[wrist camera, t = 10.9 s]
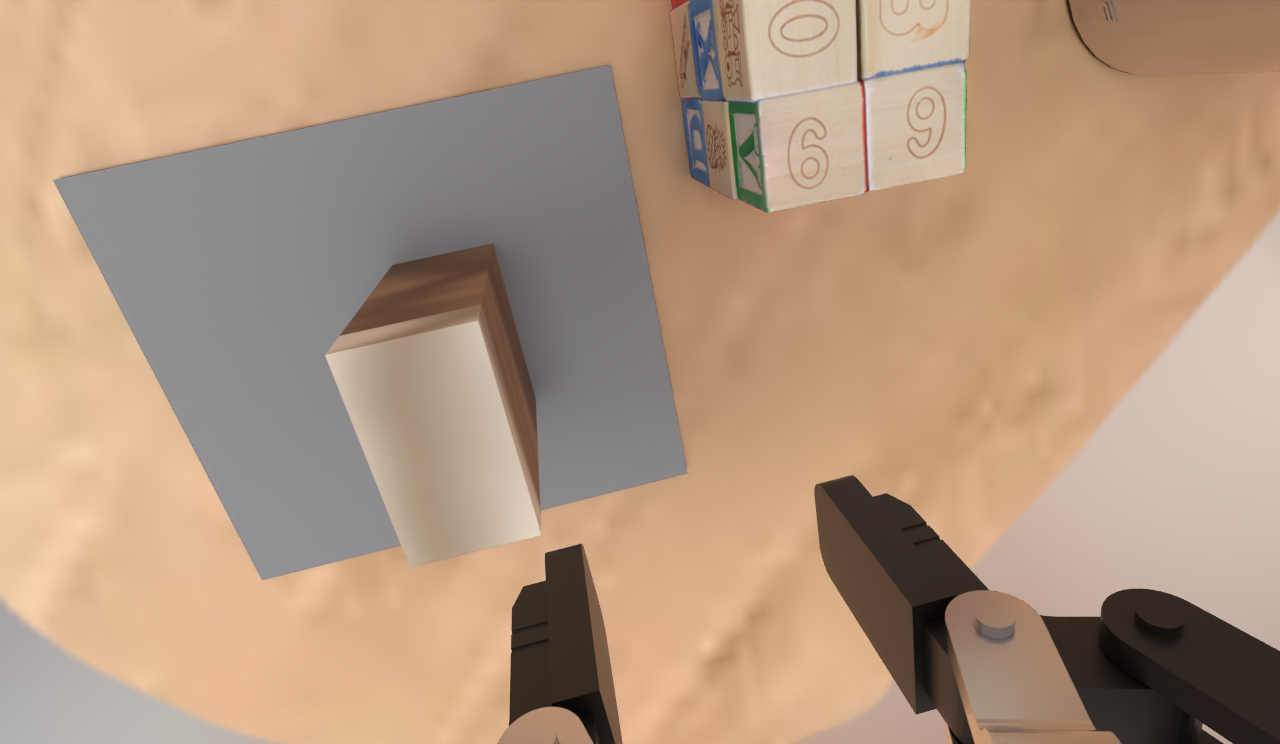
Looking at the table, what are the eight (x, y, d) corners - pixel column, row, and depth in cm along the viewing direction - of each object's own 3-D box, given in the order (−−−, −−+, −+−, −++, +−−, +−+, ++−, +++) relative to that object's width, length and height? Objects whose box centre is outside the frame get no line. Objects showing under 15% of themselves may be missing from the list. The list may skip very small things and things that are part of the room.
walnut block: (493, 242, 27) (477, 320, 18) (535, 399, 30) (541, 535, 21) (392, 265, 27) (324, 354, 18) (444, 420, 30) (410, 568, 21)
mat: (609, 65, 26) (610, 64, 25) (685, 468, 33) (687, 473, 33) (59, 178, 24) (52, 180, 24) (265, 574, 32) (262, 580, 31)
